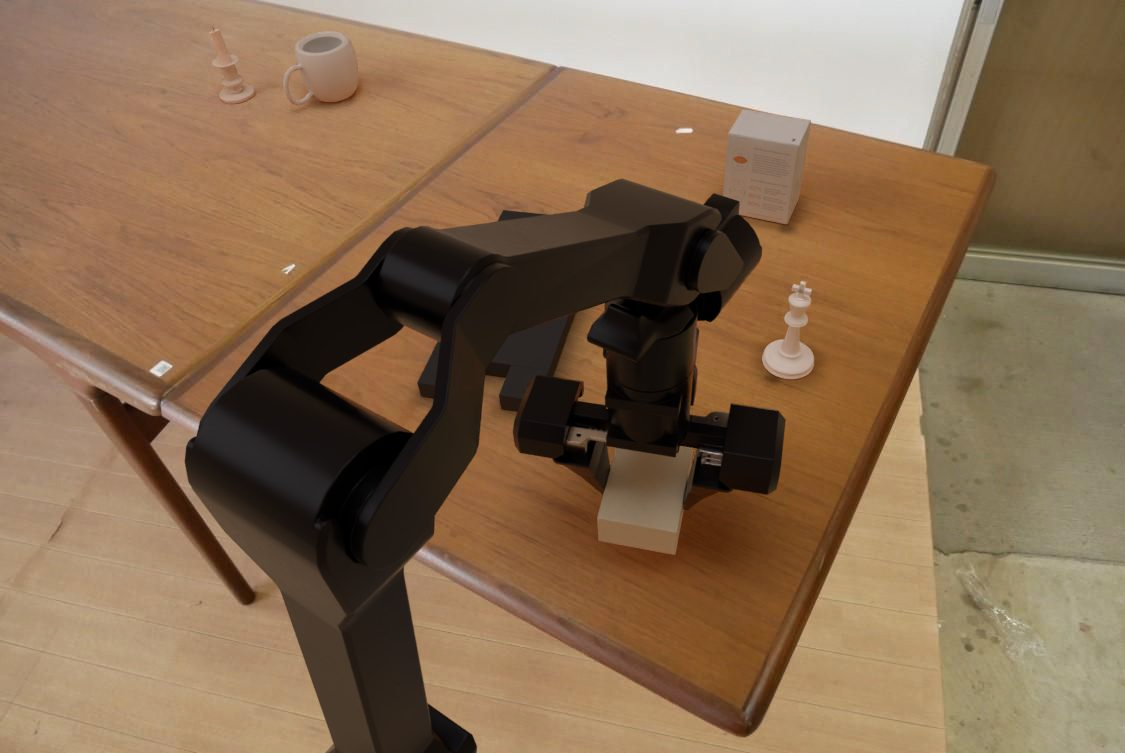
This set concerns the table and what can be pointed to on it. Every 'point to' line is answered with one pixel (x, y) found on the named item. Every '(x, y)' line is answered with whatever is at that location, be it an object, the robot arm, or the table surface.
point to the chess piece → (791, 340)
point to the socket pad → (515, 352)
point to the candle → (229, 72)
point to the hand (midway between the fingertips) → (646, 498)
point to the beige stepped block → (644, 500)
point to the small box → (766, 164)
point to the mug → (324, 67)
